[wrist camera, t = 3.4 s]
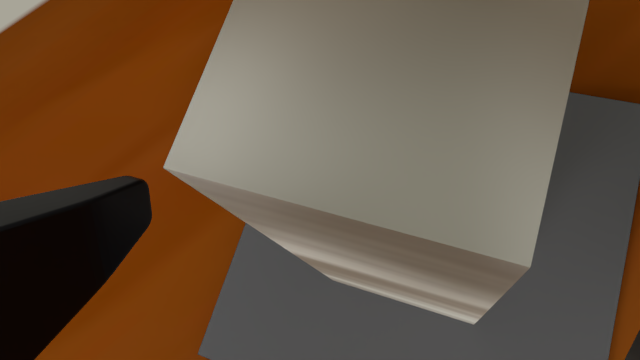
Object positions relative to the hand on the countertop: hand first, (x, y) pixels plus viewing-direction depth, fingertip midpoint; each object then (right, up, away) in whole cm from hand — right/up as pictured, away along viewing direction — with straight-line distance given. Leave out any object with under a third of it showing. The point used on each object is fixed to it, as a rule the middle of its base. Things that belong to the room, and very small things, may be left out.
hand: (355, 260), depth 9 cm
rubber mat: (+3, -1, +10) cm, 10 cm away
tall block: (+3, 0, +9) cm, 10 cm away
